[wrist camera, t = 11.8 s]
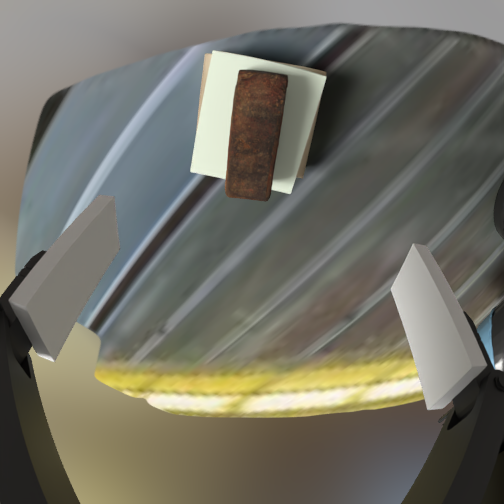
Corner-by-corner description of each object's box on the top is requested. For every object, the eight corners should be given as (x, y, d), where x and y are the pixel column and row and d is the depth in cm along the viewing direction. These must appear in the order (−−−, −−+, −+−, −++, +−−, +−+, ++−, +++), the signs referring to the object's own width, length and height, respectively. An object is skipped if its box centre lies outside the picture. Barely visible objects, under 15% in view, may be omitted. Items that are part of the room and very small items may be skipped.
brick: (271, 182, 30) (270, 204, 26) (229, 176, 30) (222, 198, 26) (287, 73, 23) (290, 76, 20) (241, 67, 23) (235, 70, 20)
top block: (320, 74, 26) (326, 76, 23) (288, 178, 33) (290, 194, 30) (220, 51, 26) (212, 50, 22) (199, 158, 33) (190, 171, 29)
